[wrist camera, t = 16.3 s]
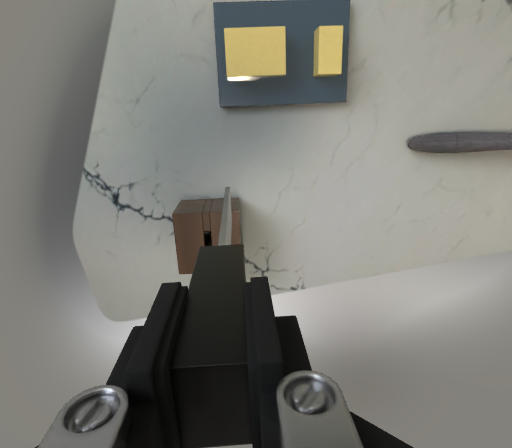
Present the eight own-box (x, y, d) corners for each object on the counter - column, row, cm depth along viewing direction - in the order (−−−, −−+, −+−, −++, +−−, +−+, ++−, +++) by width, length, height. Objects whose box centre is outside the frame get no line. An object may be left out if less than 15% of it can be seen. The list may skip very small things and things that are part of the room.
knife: (242, 218, 25) (255, 444, 8) (217, 219, 25) (179, 450, 8) (240, 186, 25) (250, 362, 8) (214, 187, 25) (166, 368, 7)
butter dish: (220, 107, 39) (218, 106, 36) (213, 5, 36) (211, -6, 33) (343, 102, 40) (353, 101, 36) (347, 1, 36) (358, -10, 33)
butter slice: (313, 76, 38) (318, 74, 35) (314, 31, 36) (319, 25, 34) (335, 76, 38) (341, 74, 35) (336, 30, 36) (343, 25, 34)
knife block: (186, 253, 44) (179, 274, 39) (180, 200, 42) (171, 214, 36) (241, 250, 45) (242, 271, 39) (238, 197, 42) (238, 210, 37)
